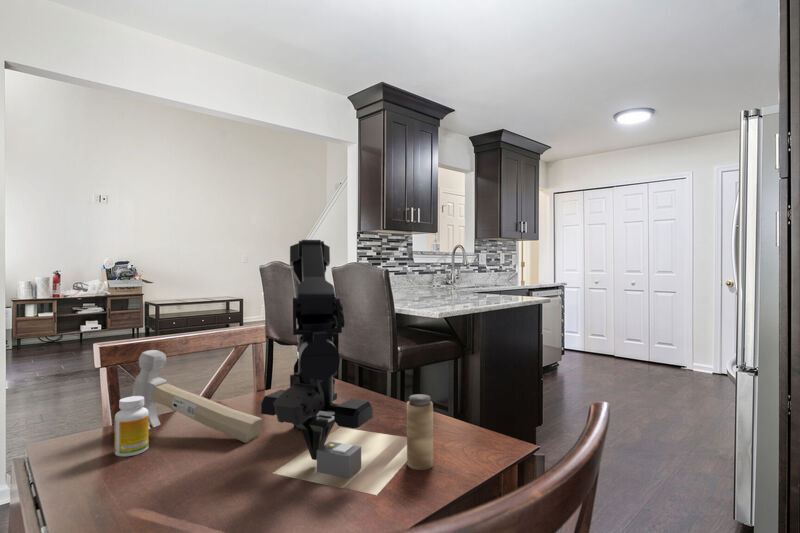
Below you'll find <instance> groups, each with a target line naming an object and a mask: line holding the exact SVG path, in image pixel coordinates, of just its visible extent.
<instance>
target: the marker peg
mask: <svg viewBox="0 0 800 533" xmlns="http://www.w3.org/2000/svg"><path fill="white" fill-rule="evenodd" d="M431 400H432V398H431V396H429V395H427V394H424V393H423V394H421V393H420V394H419V393H417V394H411V395H409V397H408V401H407V402H406V437H407V462H406V465H407V467H408V468H409V469H412V470H415V471H426V470H429V469H431V468H433V467H434V402H432V401H431Z"/></svg>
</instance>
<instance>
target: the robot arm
mask: <svg viewBox="0 0 800 533" xmlns="http://www.w3.org/2000/svg"><path fill="white" fill-rule="evenodd" d="M330 250H331V249H330V245H329V246H328V245H327V244H325V241H324V240H321V239H301V240H298V243H294V244H293V245H291V246H290V247H289V267H292V270H293V271H292V276H293V277H294V278H295V281H296V282H297V284H298V285H296V297H292V336H299V338H298V354H297V355H298V356H297V357H298V358H297V359H296V361H295V363H294V365H293V374H290V375H289V379H290V380H289V387H288V388H286V389H279V390H277V391H273V392H272V393H269V394H266V395H264V396H263V398H262V400H261V402H260V414H262V415H266V416H267V415H268V416H272V417H273V416H276V419H277V422H279V423H281V424H282V423H288V424H292V425H293V428H294V429H296V430H297V431H299V432H301V434H302V436H303V439H304V441H305V444H306V447H307V450H309V453H310V455H311V458H312V459H313V460H317V450H318V449H320V448H321V447H322V446H324V444H325V442H326V440H327V437H328V436H329V435H330V434H331V431H332V429H333V427H334V425H335V423H336V425H337V426H338V427H341V428H348V429H358V428H360V427H361V426H363V425H364V424H366V423H367V422H368V421H370V420H371V419H373V406H372V404H371V403H370V401H369V400H362V399H356V398H355V399H354V398H350V399H348V400H346V401H344V402H342V403H334V402H335V401H337V399H338V393H337V392H335V386H336V379H335V377H336V376H337V375H338V369H339V367H340V361H341V356H340V353H339V351H338V348H337V347H336V345H335V343H334V337H333V334H342V332H343V331H342V330H343V328H345V316H344V308H343V303H342V302H341V298H340V297H339V296H336V292H335V286H334V285H333V284H332V283H331V282H329V281H327V280H326V279H327V278H326V272H327V267H330V266H329V265H330V264H331V256H330V255H331V253H330ZM297 325H298V328H297Z"/></svg>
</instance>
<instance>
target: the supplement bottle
mask: <svg viewBox="0 0 800 533" xmlns="http://www.w3.org/2000/svg"><path fill="white" fill-rule="evenodd" d="M143 406H144V397H143V396H132V395H131V396H127V397H124V398H123V397H122V398H121V399H119V401H118V408H119V409H120V410H119V411H117V412H116V413H115V415H114V454H115V455H116V456H117V457H122V458H123V457H131V456H132V457H133V456H137V455H140V454H142V453H145V452H146V451H147V450H148V449H149V443H150V442H149V436H150V435H149V430H150V429H149V428H148V424H149V422H148V418H149V414H148V410H147V409H146V408H144V407H143ZM148 429H149V430H148Z"/></svg>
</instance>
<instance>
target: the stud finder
mask: <svg viewBox="0 0 800 533" xmlns="http://www.w3.org/2000/svg"><path fill="white" fill-rule="evenodd" d="M360 469H361V447H360V446H354V445H349V444H343V443H336V442H331V441H330V442H328V443H327V444H325V445H324V446H322V447H321V448H320V449H318V450H317V472H319V473H324V474H329V475H334V476H339V477H344V478H348V479H350V478H351V477H352V476H353V475H354V474H355V473H356V472H357V471H359V470H360Z"/></svg>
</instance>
